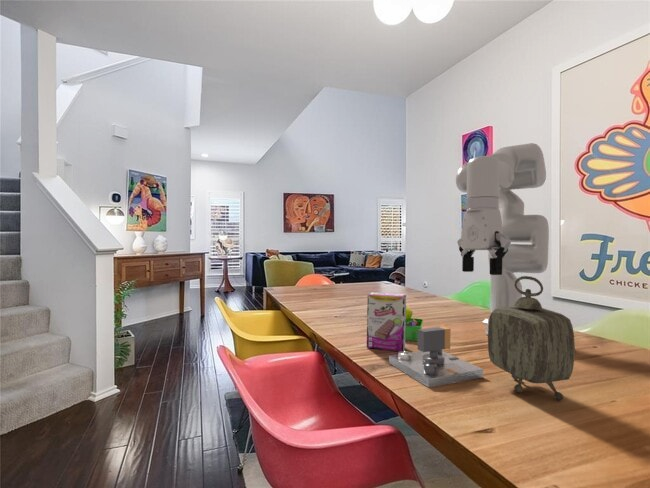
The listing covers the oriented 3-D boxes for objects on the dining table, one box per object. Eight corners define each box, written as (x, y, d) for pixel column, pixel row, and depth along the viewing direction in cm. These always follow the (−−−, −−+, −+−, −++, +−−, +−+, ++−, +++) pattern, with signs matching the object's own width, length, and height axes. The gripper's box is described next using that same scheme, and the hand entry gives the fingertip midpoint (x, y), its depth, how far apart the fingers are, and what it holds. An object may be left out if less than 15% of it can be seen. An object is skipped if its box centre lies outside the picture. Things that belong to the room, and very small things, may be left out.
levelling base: (388, 363, 89) (389, 348, 89) (437, 355, 95) (437, 341, 95) (428, 387, 74) (428, 369, 74) (482, 377, 80) (483, 360, 80)
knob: (414, 359, 85) (414, 327, 85) (439, 355, 88) (440, 325, 88) (427, 366, 80) (427, 333, 80) (454, 362, 83) (454, 330, 83)
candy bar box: (366, 348, 101) (366, 294, 100) (369, 343, 105) (370, 291, 105) (404, 352, 97) (404, 296, 97) (405, 347, 102) (406, 293, 102)
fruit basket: (421, 342, 107) (421, 307, 107) (393, 339, 110) (393, 305, 110) (423, 333, 118) (423, 301, 118) (397, 331, 121) (397, 299, 120)
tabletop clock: (574, 403, 67) (576, 279, 67) (539, 410, 65) (541, 281, 64) (514, 375, 81) (515, 272, 81) (483, 379, 78) (485, 273, 78)
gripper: (448, 208, 93) (447, 270, 92) (496, 201, 76) (495, 276, 76) (470, 210, 95) (469, 270, 95) (522, 202, 78) (521, 276, 78)
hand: (481, 273), depth 85 cm, fingers open, 9 cm apart
